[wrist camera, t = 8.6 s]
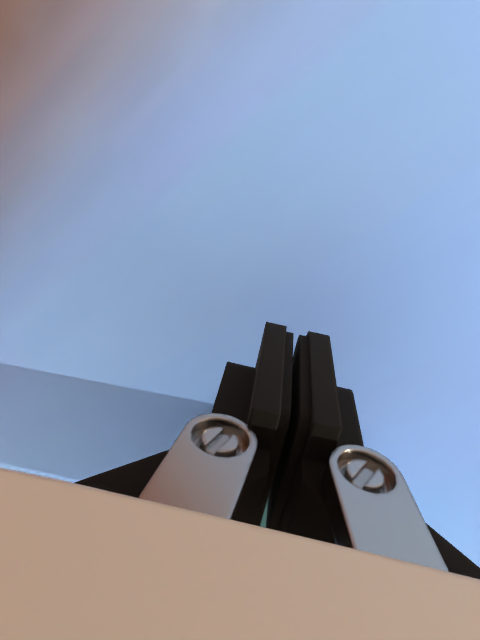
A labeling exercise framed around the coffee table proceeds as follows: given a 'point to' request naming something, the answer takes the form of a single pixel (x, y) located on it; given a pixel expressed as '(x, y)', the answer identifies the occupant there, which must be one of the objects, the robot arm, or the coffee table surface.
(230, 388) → the robot arm
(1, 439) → the coffee table surface
